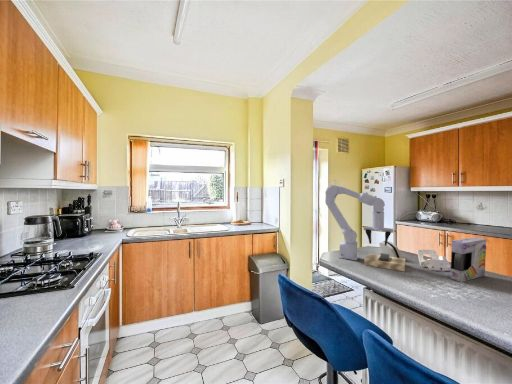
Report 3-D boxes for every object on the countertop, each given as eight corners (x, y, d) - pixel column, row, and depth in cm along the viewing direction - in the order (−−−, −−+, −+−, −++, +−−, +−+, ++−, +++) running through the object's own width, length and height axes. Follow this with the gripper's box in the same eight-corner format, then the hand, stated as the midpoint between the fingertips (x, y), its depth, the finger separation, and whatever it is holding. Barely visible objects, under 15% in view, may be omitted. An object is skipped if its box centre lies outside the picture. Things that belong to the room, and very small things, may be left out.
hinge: (405, 260, 136) (399, 243, 136) (397, 263, 136) (391, 246, 136) (389, 252, 152) (384, 237, 152) (382, 255, 153) (377, 240, 153)
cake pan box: (460, 283, 104) (461, 242, 103) (447, 278, 108) (448, 239, 108) (486, 277, 111) (487, 238, 111) (473, 273, 116) (474, 236, 115)
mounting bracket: (446, 271, 123) (440, 250, 128) (454, 270, 118) (448, 248, 122) (421, 271, 124) (416, 249, 129) (428, 269, 119) (423, 247, 123)
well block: (364, 264, 128) (364, 259, 128) (368, 258, 139) (368, 253, 138) (404, 271, 118) (404, 265, 118) (405, 264, 129) (405, 258, 129)
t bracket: (379, 266, 126) (379, 254, 126) (381, 262, 132) (381, 251, 132) (388, 267, 124) (388, 256, 124) (389, 264, 130) (389, 253, 129)
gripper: (362, 219, 135) (362, 243, 135) (392, 221, 127) (392, 247, 127) (364, 218, 141) (364, 241, 141) (393, 220, 133) (393, 244, 133)
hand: (377, 244), depth 134 cm, fingers open, 7 cm apart
